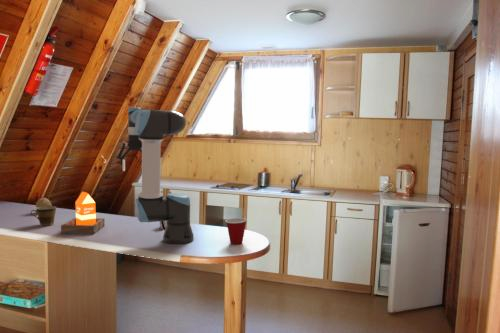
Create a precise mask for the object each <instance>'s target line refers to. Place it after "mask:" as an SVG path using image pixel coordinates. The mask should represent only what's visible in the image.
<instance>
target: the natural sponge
mask: <svg viewBox="0 0 500 333" xmlns="http://www.w3.org/2000/svg"><path fill="white" fill-rule="evenodd" d="M42 206H53V205H52V202H51V200H49V199H48V198H46V197H41V198H39V199H38V200H37V201H36V203H35V207H36V208H38V207H42Z"/></svg>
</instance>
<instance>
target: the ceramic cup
mask: <svg viewBox="0 0 500 333" xmlns="http://www.w3.org/2000/svg"><path fill="white" fill-rule="evenodd" d="M56 210H57V206H55V205H52V206H42V207H38V208H37V207H36V209H32V210H31V211H30V215H32V216H33V217H35V218H36V219H38V221H39V225H40V227H51V226H53V225H54V222H55V216H56V213H57V212H56ZM32 212H35V213H36V214H37V216H36V215H34V214H33V213H32Z"/></svg>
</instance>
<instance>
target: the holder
mask: <svg viewBox="0 0 500 333" xmlns="http://www.w3.org/2000/svg"><path fill="white" fill-rule="evenodd" d="M105 226H106V225H105V218H103V217H102V218H97V217H96V223H94V224H93V225H76V217H75V218H74V217H73V218H72V219H70V220H68V221H66V222H65V223H63V224H61V225H60V233H61V235H95V234H96V233H97V232H100V231H101V230H102V229H103V228H105Z"/></svg>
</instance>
